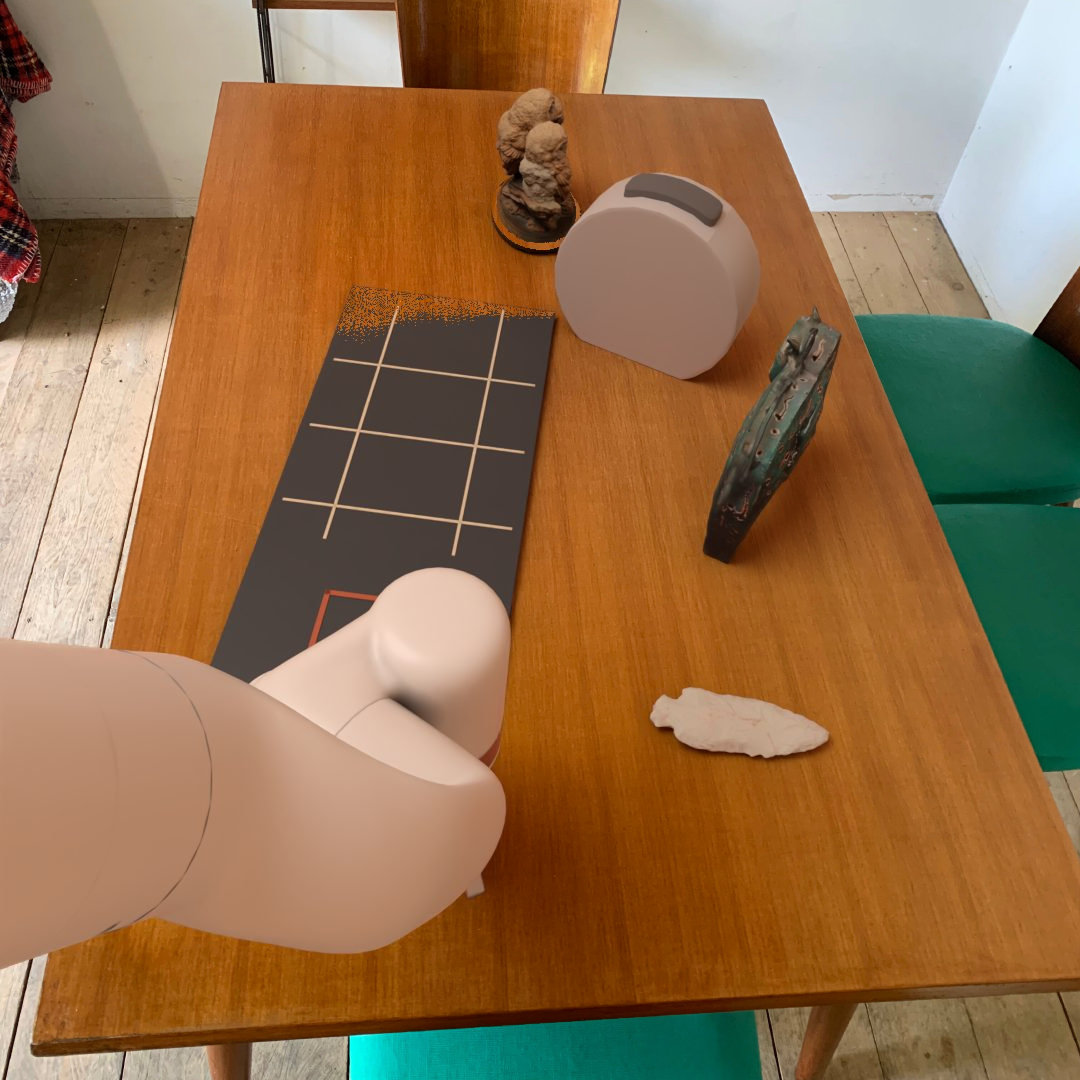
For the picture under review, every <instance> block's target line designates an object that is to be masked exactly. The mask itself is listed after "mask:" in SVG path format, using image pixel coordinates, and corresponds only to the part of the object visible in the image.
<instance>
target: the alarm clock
mask: <svg viewBox="0 0 1080 1080" xmlns="http://www.w3.org/2000/svg"><path fill="white" fill-rule="evenodd" d="M761 280H762V272H761V262H760V256H759V250H758V249H757V246H756V243H755V241H754V238H753V236H752V234H751V231H750V229H749V227H748V226H747V224H746V223H745V222H744V220H743V219H742V218H741V217H740V215H739V213H738V212H737V211H736V210H735V208H734V207H733V206H732V205H731V204H730V203H729V202H727V201H726V200H725V199H724V198H723V197H721V196H720V195H719V194H718V193H716V192H715V191H714V190H713V189H711V188H710V187H708V186H706V185H703V184H702V183H699V182H697V181H695V180H693V179H691V178H689V177H686V176H681V175H677V174H672V173H667V172H651V173H649V172H648V173H647V172H645V173H644V172H643V173H637V174H634V175H632V176H629V177H626V178H624V179H622V180H619V181H616V182H614V183H613V184H612V185H611V186H610V187H609V188H607V189H606V190H605V191H604V192H602V193H601V194H600V195H599V196H598V197H597V198H596V199H595V200H594V201H593V202H592V203H591V205H590V206H589V207H588V208H587V209H586V210H585V211H584V213H583V214H581V217H580V218H579V219H578V221H577V222H576V223H575V224H574V225H573V226H572V227H571V229H570V230H569V232H568V234H567V235H566V237H565V238H564V240H563V241H562V243H561V244H560V247H559V251H557V255H556V259H555V263H554V289H555V292H556V296H557V299H558V303H559V307H560V310H561V313H562V314H563V315H564V318H565V319H566V322H567V323H568V325H569V327H570V328H571V330H572V332H573V333H574V334H575V335H576V336H577V338H578V339H579V340H580V341H582V342H585V343H587V344H590V345H591V346H595V347H597V348H600V349H603V350H604V351H607V352H610V353H612V354H615V355H618V356H620V357H623V358H625V359H627V360H630V361H633V362H635V363H638V364H640V365H643V366H646V367H647V368H651V369H652V370H656V371H658V372H660V373H663V374H666V375H668V376H671V377H673V378H676V379H678V380H688V379H693V378H695V377H697V376H699V375H701V374H703V373H705V372H707V371H709V370H711V369H713V367H715V365H717V364H718V363H719V362H720V361H721V360H722V359H723V357H725V355H727V353H728V352H729V350H730V348H731V346H732V345H733V344H734V342H735V340H736V338H737V336H738V335H739V333H740V332H741V330H742V329H743V327H744V325H745V323H746V321H747V319H748V318H749V316H750V314H751V313H752V310H753V308H754V307H755V305H756V303H757V301H758V297H759V294H760V293H759V292H760V287H761V286H760V285H761Z"/></svg>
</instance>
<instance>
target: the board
mask: <svg viewBox="0 0 1080 1080" xmlns="http://www.w3.org/2000/svg"><path fill="white" fill-rule="evenodd" d="M352 286H353V287H352ZM352 286H351V288H350V291H349V293H348V296H347V298H346V301H345V304H344V306H343V310H342V312H341V315H340V317H339V320H338V322H337V325H336V328H335V331H334V334H333V336H332V338H331V341H330V344H329V347H328V349H327V352H326V355H325V356H324V357H325V358H324V360H323V363H322V365H321V368H320V372H319V373H318V376H317V379H316V381H315V384H314V387H313V389H312V392H311V395H310V397H309V400H308V403H307V406H306V408H305V411H304V413H303V416H302V419H301V421H300V424H299V427H298V430H297V432H296V435H295V437H294V441H293V442H292V446H291V448H290V451H289V453H288V456H287V458H286V461H285V464H284V467H283V469H282V472H281V475H280V477H279V480H278V483H277V486H276V488H275V491H274V493H273V496H272V499H271V501H270V504H269V507H268V510H267V512H266V515H265V517H264V520H263V523H262V526H261V528H260V531H259V534H258V536H257V539H256V541H255V544H254V547H253V549H252V552H251V555H250V557H249V560H248V563H247V566H246V569H245V571H244V573H243V576H242V579H241V582H240V583H239V587H238V589H237V592H236V595H235V598H234V601H233V603H232V605H231V608H230V611H229V614H228V616H227V619H226V622H225V624H224V627H223V629H222V632H221V635H220V638H219V639H218V643H217V646H216V649H215V651H214V653H213V657H212V658H211V662H210V665H209V666H212V667H214V668H216V669H218V670H220V671H223V672H225V673H227V674H229V675H231V676H233V677H236V678H238V679H240V680H242V681H244V682H246V683H248V684H249V683H251V682H252V681H253V680H254V679H256V678H257V677H259V676H261V675H262V674H264V673H266V672H269V671H272V670H273V669H275V668H276V667H278V666H280V665H281V664H283V663H284V662H286V661H287V660H289V659H291V658H292V657H294V656H296V655H298V654H299V653H301V652H303V651H304V650H306V649H308V648H310V647H311V646H313V645H315V644H316V643H318V642H320V641H322V640H323V639H325V638H327V637H328V636H330V635H332V634H334V633H335V632H337V631H338V630H340V629H341V628H343V627H345V626H346V625H348V624H349V623H351V622H352V621H354V620H356V619H357V618H359V617H360V616H362V615H363V614H365V613H366V612H368V611H369V610H370V608H371V607H372V605H373V604H374V602H375V601H376V599H377V597H378V596H379V595H380V594H381V593H382V592H383V590H384V589H385V588H386V587H387V586H389V585H390V584H391V583H392V582H394V581H395V580H397V579H398V578H400V577H402V576H404V575H406V574H409V573H411V572H414V571H417V570H422V569H426V568H437V567H440V568H451V569H456V570H459V571H463V572H466V573H468V574H471V575H473V576H475V577H477V578H479V579H480V580H482V581H483V582H485V583H486V584H487V585H488V586H489V587H490V588H491V589H493V591H494V592H495V593H496V595H497V596H498V597H499V598H500V600H501V601H502V603H503V605H504V607H505V609H506V612H507V615H508V619H509V621H510V620H511V613H512V605H513V601H514V600H513V599H514V593H515V587H516V580H517V573H518V567H519V559H520V553H521V547H522V541H523V540H522V539H523V532H524V526H525V519H526V513H527V505H528V499H529V493H530V486H531V481H532V480H531V479H532V474H533V466H534V460H535V453H536V446H537V439H538V433H539V427H540V419H541V413H542V405H543V399H544V393H545V385H546V378H547V372H548V366H549V359H550V352H551V347H552V338H553V332H554V326H555V318H556V312H555V313H553V315H552V314H551V315H552V316H548V315H547V314H548V313H546V311H547V310H546V309H541V310H542V312H544V311H545V313H546V316H541V315H538V316H535V315H534V314H535V313H533V312H532V311H531V312H532V314H533V315H532V316H530V315H531V314H530V315H529V316H527V314H526V310H525V314H526V316H524V315H523V317H521V316H520V315H521V313H520V315H519V313H517V315H516V316H514V317H512V316H509V315H506V314H504V313H507V312H508V311H507V310H506V311H507V312H505V311H504V310H505V309H504V308H503V309H504V310H503V309H501V308H500V307H499V308H500V309H501V310H502V313H501V314H500V313H497V312H498V311H497V310H495V312H494V314H500V315H501V316H500V315H494V314H493V310H492V309H491V310H492V311H488V310H489V308H488V307H487V309H488V310H487V311H488V312H491V314H489V313H487V314H486V315H479V313H478V314H477V313H475V314H474V313H472V315H473V314H474V315H479V317H478V316H474V317H473V318H470V317H472V315H470V313H469V311H470V310H468V309H466V310H465V313H466V311H467V310H468V312H467V313H466V314H469V315H468V316H465V317H461V316H463V315H465V314H462V312H463V311H462V310H463V309H462V308H461V309H462V310H461V309H460V310H461V311H462V312H461V311H460V312H459V311H458V310H459V308H460V307H462V306H459V308H458V309H457V310H456V309H454V308H453V307H451V309H452V308H453V309H454V310H456V311H458V312H459V313H461V314H460V315H458V314H457V315H458V316H454V315H456V313H455V311H454V315H453V314H451V313H449V312H448V311H451V310H448V311H447V312H448V314H451V315H453V316H452V318H450V317H451V315H448V316H445V315H441V314H442V313H443V312H441V311H440V312H438V314H439V313H441V314H440V316H439V315H437V316H436V317H434V316H435V315H433V313H435V312H436V311H435V312H433V309H434V308H432V316H431V314H430V313H431V312H430V311H429V310H428V311H429V312H430V313H429V314H426V313H428V312H425V311H426V309H425V311H424V313H423V312H421V311H420V310H419V309H418V310H419V311H420V312H421V313H422V314H421V313H420V312H419V311H418V310H415V312H416V311H418V312H417V315H418V316H417V315H416V316H415V317H412V316H414V315H415V314H413V312H410V313H412V314H413V315H412V316H410V317H408V315H410V314H409V312H408V314H407V312H406V311H405V312H403V313H404V316H403V317H404V318H405V317H406V316H407V317H406V318H405V321H404V320H403V319H402V314H401V315H400V314H399V313H400V310H399V309H400V308H399V306H396V308H397V307H398V309H396V310H395V312H393V313H392V314H393V315H394V316H392V315H391V316H388V315H389V314H388V313H390V312H391V311H390V312H388V311H387V312H388V313H387V312H386V314H388V315H386V318H387V317H391V318H390V319H392V318H393V319H392V321H391V320H389V321H390V322H383V323H382V322H381V323H379V325H380V326H379V325H378V326H377V325H376V326H377V327H378V328H379V329H378V330H379V331H378V330H376V329H377V327H375V326H374V325H375V324H374V325H373V323H372V322H373V320H372V319H371V320H372V322H371V321H370V320H369V321H368V322H369V323H371V324H372V325H373V326H374V327H373V326H371V327H370V326H369V325H368V324H367V326H365V325H364V328H363V326H361V325H362V323H360V327H358V328H356V329H358V330H359V331H356V329H355V328H354V327H355V325H358V326H359V324H355V321H356V320H357V321H358V320H359V319H356V318H355V317H357V316H358V315H355V317H354V318H355V319H356V320H354V321H353V325H352V326H350V325H348V323H347V324H346V323H345V322H346V321H343V319H344V318H346V317H345V316H346V315H347V314H348V317H349V316H350V315H349V313H351V312H354V311H351V310H350V311H351V312H350V311H348V312H347V310H349V308H348V307H350V305H349V304H348V305H349V306H348V305H347V304H346V302H347V300H348V302H349V301H350V300H351V299H348V298H349V294H350V293H351V294H352V296H353V297H355V294H354V295H353V292H354V291H353V290H352V291H353V292H351V289H352V288H355V287H354V286H355V285H354V284H353V285H352ZM356 286H357V287H359V286H361V285H356ZM361 287H363V288H364V287H365V288H369V290H372V289H370V288H371V287H370V286H369V287H368V286H361ZM359 288H360V287H359ZM363 288H361V289H363ZM365 288H364V289H365ZM375 288H376V289H378V290H377V291H382V289H383V290H385V291H388V290H389V289H384V288H377V287H375ZM355 289H356V288H355ZM355 289H354V290H355ZM361 289H360V290H361ZM364 289H363V290H364ZM376 289H375V290H376ZM379 289H380V290H379ZM365 290H366V289H365ZM390 290H391V291H394V290H392V289H390ZM367 291H368V290H366V291H364V293H365V294H366V292H367ZM398 291H399V292H401V293H406V292H407V291H400V290H398ZM373 292H374V291H373ZM399 292H398V293H397V295H400V294H399ZM361 293H362V292H360V291H359V294H360V295H361ZM364 293H363V295H362V296H364ZM369 293H370V292H369ZM369 293H367V294H366V296H367V295H368V294H369ZM375 293H377V292H375ZM375 293H372V294H375ZM381 293H382V292H381ZM411 293H412V292H407V293H406V294H401V295H407V294H411ZM413 293H414V292H413ZM356 294H357V292H356ZM378 294H380V293H378ZM383 294H384V293H383ZM386 294H387V293H386ZM394 294H395V293H394ZM415 294H418V295H419V294H420V295H421V296H422V295H424V294H422V293H414V294H413V295H415ZM376 295H377V294H376ZM390 295H391V298H392V297H393V296H394V295H393V293H392V294H390ZM425 295H426V296H427V295H428V294H425ZM352 296H351V298H352V299H354V298H353V297H352ZM369 296H370V295H369ZM383 296H384V297H385V296H386V295H383ZM408 296H409V295H408ZM408 296H406V297H408ZM421 296H420V298H419V296H418V298H416V299H415V300H417V299H418V300H420V299H421V300H423V299H424V298H423V296H422V298H423V299H422V298H421ZM430 296H432V297H434V296H435V295H430ZM436 296H437V297H439V298H440V297H442V298H443V297H444V298H445V300H446V298H447V297H445V296H438V295H436ZM372 297H373V296H372ZM379 297H381V298H382V296H379ZM379 297H378V295H377V298H379ZM395 297H396V295H395ZM403 297H405V296H403ZM409 297H411V295H410V296H409ZM357 298H359V297H358V295H357ZM365 298H367V297H365ZM374 298H376V296H375V297H374ZM374 298H373V299H374ZM393 298H394V297H393ZM399 298H400V297H399ZM413 298H414V297H413ZM427 298H430V297H429V296H427ZM434 298H436V297H434ZM439 298H437V299H439ZM448 298H449V299H451V298H453V299H455V298H454V297H448ZM363 299H364V298H363V297H362V302H364V303H365V301H363ZM367 299H368V300H370V299H371V298H370V299H369V297H368V298H367ZM373 299H372V300H373ZM379 299H380V298H379ZM383 299H384V298H383ZM402 299H403V298H402ZM408 299H409V298H408ZM430 299H431V298H430ZM432 299H433V298H432ZM449 299H448V300H449ZM458 299H459V300H464V301H465V300H466V299H462V298H458ZM354 300H355V299H354ZM358 300H359V299H358ZM360 300H361V296H360ZM372 300H371V301H372ZM375 300H376V299H375ZM375 300H374V301H375ZM377 300H378V299H377ZM377 300H376V301H377ZM380 300H382V299H380ZM380 300H379V301H380ZM384 300H385V299H384ZM387 300H388V296H387ZM392 300H393V301H394V299H392ZM398 300H399V299H398V298H397V300H396V304H397V303H398V302H397V301H398ZM404 300H407V299H404ZM445 300H444V301H445ZM374 301H373V302H374ZM382 301H383V300H382ZM385 301H386V300H385ZM388 301H389V302H390V301H391V300H388ZM388 301H387V304H388ZM393 301H392V302H393ZM402 301H403V300H402ZM408 301H409V300H408ZM413 301H414V300H413ZM413 301H412V302H413ZM433 301H434V300H433ZM438 301H439V300H438ZM468 301H471V302H472V301H473V300H469V299H468ZM468 301H467V302H468ZM474 301H475V302H477V304H478V302H479V301H478V300H477V301H476V300H474ZM348 302H347V303H348ZM352 302H353V301H352ZM355 302H358V301H356V300H355ZM380 302H381V301H380ZM380 302H379V303H380ZM383 302H384V301H383ZM394 302H395V301H394ZM394 302H393V304H395V303H394ZM400 302H401V301H400ZM406 302H407V301H405V303H406ZM414 302H415V301H414ZM439 302H441V303H440V304H442V301H439ZM448 302H449V301H448ZM454 302H455V300H454ZM454 302H453V303H454ZM461 302H462V301H461ZM482 302H483V301H482ZM349 303H350V304H351V302H349ZM359 303H360V301H359ZM375 303H376V302H375ZM377 303H378V302H377ZM377 303H376V304H377ZM381 303H382V302H381ZM381 303H380V304H379V305H380V307H382V306H383V305H382V304H381ZM384 303H385V302H384ZM384 303H383V304H384ZM427 303H428V302H426V305H427ZM432 303H435V302H432ZM432 303H431V302H430V305H431V304H432ZM445 303H447V302H445ZM453 303H451V304H453ZM462 303H463V302H462ZM465 303H466V301H465ZM472 303H473V302H472ZM472 303H470V304H472ZM483 303H485V304H486V303H487V306H489V305H488V303H489V302H483ZM368 304H369V302H368ZM368 304H367V301H366V306H367V305H368ZM372 304H373V303H372ZM372 304H371V303H370V305H371V306H372ZM376 304H373V305H376ZM407 304H408V303H407ZM407 304H405V305H407ZM411 304H412V303H411ZM417 304H418V303H417ZM417 304H414V305H417ZM474 304H475V303H474ZM474 304H473V305H474ZM477 304H476V305H477ZM491 304H492V305H493V304H495V307H497V306H498V304H499V305H500V306H501V305H502V306H503V305H504V304H500V303H491ZM491 304H490V305H491ZM496 304H497V306H496ZM345 305H347V306H348V307H347V306H346V307H347V308H346V307H345ZM352 305H353V304H352ZM352 305H351V306H352ZM354 305H356V303H354ZM358 305H359V304H357V307H358ZM361 305H362V303H361ZM361 305H360V307H361ZM363 305H364V304H363ZM379 305H378V306H379ZM381 305H382V306H381ZM409 305H410V303H409ZM419 305H420V302H419ZM421 305H422V304H421ZM421 305H420V307H421ZM458 305H460V304H459V301H458ZM468 305H469V304H468ZM384 306H385V305H384ZM384 306H383V307H384ZM391 306H392V305H391ZM402 306H403V305H402ZM402 306H401V310H402ZM412 306H413V305H412ZM422 306H423V305H422ZM438 306H439V305H438ZM438 306H437V307H438ZM441 306H442V305H441ZM444 306H445V305H444ZM448 306H450V305H448ZM465 306H466V305H465ZM469 306H470V305H469ZM471 306H472V305H471ZM478 306H480V305H478ZM478 306H477V307H478ZM493 306H494V305H493ZM506 306H507V307H508V306H509V305H508V304H507V305H506ZM513 306H514V307H516V306H515V305H513ZM354 307H355V306H353V307H350V308H352V310H353V309H354ZM360 307H358V309H359V308H360ZM369 307H370V306H369ZM376 307H377V306H376ZM383 307H382V308H383ZM385 307H386V306H385ZM385 307H384V308H385ZM387 307H388V306H387ZM387 307H386V308H387ZM389 307H390V305H389ZM389 307H388V308H389ZM404 307H405V306H404ZM404 307H403V308H404ZM407 307H409V306H407ZM407 307H406V308H407ZM413 307H414V306H413ZM417 307H418V306H417ZM428 307H429V305H428V306H427V308H428ZM435 307H436V306H435ZM457 307H458V306H457ZM467 307H468V306H467ZM473 307H474V306H473ZM485 307H486V305H485V306H484V308H483V310H484V309H485ZM490 307H491V306H490ZM495 307H494V308H495ZM514 307H513V308H514ZM519 307H520V308H521V307H522V306H519ZM345 308H346V309H347V310H346V309H345ZM363 308H364V306H362V308H361V310H362V309H363ZM374 308H375V307H374ZM384 308H383V309H384ZM386 308H385V309H386ZM388 308H387V309H388ZM390 308H391V307H390ZM394 308H395V306H394ZM394 308H393V307H392V309H394ZM415 308H416V307H415ZM442 308H443V307H442ZM442 308H439V309H438V310H440V309H442ZM444 308H447V307H444ZM449 308H450V307H449ZM449 308H447V309H449ZM469 308H470V307H469ZM475 308H476V307H475ZM479 308H481V307H479ZM479 308H477V309H476V310H478V309H479ZM499 308H497V309H499ZM522 308H524V307H522ZM525 308H526V309H527V308H529V309H530V310H531V309H533V310H534V309H535V310H536V311H537V310H539V309H537V308H531V307H525ZM344 309H345V311H344ZM366 309H367V308H365V310H364V313H365V312H366ZM380 309H381V308H380ZM380 309H379V311H380ZM385 309H384V310H385ZM408 309H410V307H409V308H408ZM423 309H424V307H423ZM428 309H429V308H428ZM453 309H452V310H453ZM464 309H465V308H464ZM510 309H511V307H510ZM354 310H356V309H354ZM373 310H374V309H373V308H372V311H373ZM375 310H376V309H375ZM384 310H383V311H384ZM390 310H391V309H390ZM397 310H399V313H398V311H397ZM404 310H405V309H404ZM410 310H411V311H412V310H414V309H410ZM421 310H422V309H421ZM430 310H431V309H430ZM434 310H435V309H434ZM444 310H446V309H444ZM444 310H442V311H444ZM481 310H482V309H481ZM516 310H517V308H516ZM543 310H544V311H543ZM343 311H344V312H345V313H347V314H346V315H345V316H344V318H343V316H342V313H343ZM357 311H359V310H357ZM372 311H371V310H369V309H368V312H369V313H370V314H371V312H372ZM376 311H377V310H376ZM379 311H378V312H379ZM392 311H394V310H392ZM407 311H408V310H407ZM422 311H423V310H422ZM471 311H472V312H473V310H471ZM496 311H497V312H496ZM514 311H515V310H514ZM518 311H519V310H518ZM520 311H521V310H520ZM536 311H535V312H536ZM550 311H551V312H554V311H553V310H550ZM373 312H374V313H373ZM373 312H372V313H373V314H374V315H376V316H378V315H377V314H376V313H375V311H373ZM381 312H382V311H381ZM415 312H414V313H415ZM451 312H452V311H451ZM475 312H478V311H475ZM529 312H530V311H529ZM531 312H530V313H531ZM540 312H541V311H540ZM357 313H358V312H357ZM369 313H368V315H369V316H370V314H369ZM384 313H385V312H384ZM397 313H398V314H399V316H401V318H398V320H399V321H397V320H395V319H397V317H399V316H397ZM405 313H406V314H407V315H405ZM419 313H420V314H419ZM444 313H446V312H444ZM481 313H482V314H483V313H484V312H480V314H481ZM509 313H510V312H509ZM536 313H537V312H536ZM351 314H352V313H351ZM354 314H356V313H355V312H354ZM354 314H353V315H354ZM360 314H363V313H360ZM360 314H359V315H360ZM382 314H383V312H382V313H380V312H379V315H382ZM423 314H424V315H423ZM435 314H437V313H435ZM507 314H508V313H507ZM523 314H524V310H523ZM528 314H529V313H528ZM539 314H543V313H539ZM365 315H366V314H365ZM365 315H364V317H366V316H367V315H366V316H365ZM420 315H421V316H422V315H423V316H422V317H421V316H420ZM429 315H430V317H426V316H429ZM489 315H490V316H489ZM491 315H494V316H491ZM510 315H514V314H512V313H510ZM518 315H519V316H518ZM544 315H545V314H544ZM351 316H352V315H351ZM369 316H368V317H369ZM382 316H384V315H382ZM396 316H397V317H396ZM419 316H420V317H419ZM444 316H445V317H447V320H448V321H445V320H444V319H445V318H441V317H444ZM504 316H509V318H507V317H504ZM358 317H360V316H358ZM362 317H363V316H362V315H361V319H364V318H362ZM373 317H375V316H373ZM448 317H449V318H448ZM458 317H459V318H460V319H458ZM534 317H535V318H534ZM540 317H543V319H542V318H540ZM546 317H550V319H549V318H546ZM340 318H343V319H340ZM351 318H352V317H351ZM351 318H350V322H352V319H353V318H352V319H351ZM377 318H378V317H377ZM384 318H385V316H384ZM384 318H382V319H383V320H385V319H384ZM408 318H411V320H412V321H411V320H409V319H408ZM415 318H417V320H416V319H415ZM429 318H432V319H431V320H429ZM437 318H439V320H436V319H437ZM455 318H457V319H455ZM465 318H466V320H463V319H465ZM519 318H521V319H519ZM527 318H530V319H527ZM347 319H349V318H347ZM347 319H345V320H347ZM361 319H360V320H361ZM374 319H375V318H374ZM378 319H379V318H378ZM382 319H381V317H380V319H379V320H380V321H383V320H382ZM388 319H389V318H388ZM388 319H386V320H388ZM401 319H402V321H400V320H401ZM413 319H415V320H413ZM420 319H424V320H420ZM427 319H428V320H427ZM507 319H509V321H508V320H507ZM340 320H342V321H343V323H345V325H348V326H350V329H348V330H349V332H348V333H346V332H347V331H348V330H346V331H345V329H346V328H348V327H346V326H345V325H344V326H345V327H344V326H342V329H343V330H342V331H340V329H341V328H340V326H338V324H339V322H340V324H341V323H342V321H340ZM367 320H368V319H365V321H367ZM375 320H376V319H375ZM379 320H378V321H379ZM449 320H451V321H449ZM452 320H454V321H452ZM459 320H460V321H459ZM470 320H471V321H470ZM472 320H474V321H472ZM348 321H349V320H348ZM361 321H363V320H361ZM361 321H360V322H361ZM457 321H459V322H457ZM363 322H364V321H363ZM368 322H367V323H368ZM375 322H376V321H374V323H375ZM395 322H397V324H394V323H395ZM408 322H409V323H408ZM415 322H416V323H415ZM421 322H422V323H421ZM429 322H430V323H429ZM445 322H446V323H445ZM357 323H358V322H357ZM364 323H365V322H364ZM384 323H386V324H388V323H389V324H390V323H391V324H390V325H386V326H385V325H383V324H384ZM400 323H401V324H400ZM452 323H453V324H452ZM340 324H339V325H340ZM349 324H350V323H349ZM381 324H382V325H383V326H381ZM458 324H459V325H458ZM403 325H404V326H403ZM415 325H416V326H415ZM446 325H447V326H446ZM368 326H369V327H370V328H371V329H372V330H373V331H372V330H370V328H367V327H368ZM352 327H353V329H351V328H352ZM382 327H383V329H380V328H382ZM388 327H389V328H388ZM338 328H339V329H338ZM360 328H362V330H363V331H362V330H360ZM336 329H337V330H336ZM354 329H355V331H353V330H354ZM364 329H365V331H364ZM374 329H375V330H374ZM350 330H351V331H350ZM369 330H370V331H369ZM383 330H385V331H383ZM388 330H389V331H388ZM338 331H339V332H340V333H339V332H338ZM361 331H362V332H363V333H364V334H363V333H360V332H361ZM366 331H367V332H366ZM337 332H338V333H337ZM375 332H377V333H375ZM345 333H346V334H345ZM354 333H355V335H353V334H354ZM369 333H370V334H369ZM339 334H340V335H339ZM343 334H344V335H343ZM362 334H363V335H365V336H363V335H362ZM368 334H369V335H368ZM383 334H384V335H383ZM347 335H349V336H347ZM351 335H352V336H351ZM356 335H358V336H356ZM376 335H378V336H376ZM360 336H361V337H360ZM375 336H376V337H375ZM353 338H354V339H353ZM356 339H357V341H355V340H356ZM361 339H363V340H361ZM345 340H347V341H345ZM364 340H365V341H364ZM369 340H370V341H369ZM362 342H363V343H362ZM361 343H362V344H361Z"/></svg>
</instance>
